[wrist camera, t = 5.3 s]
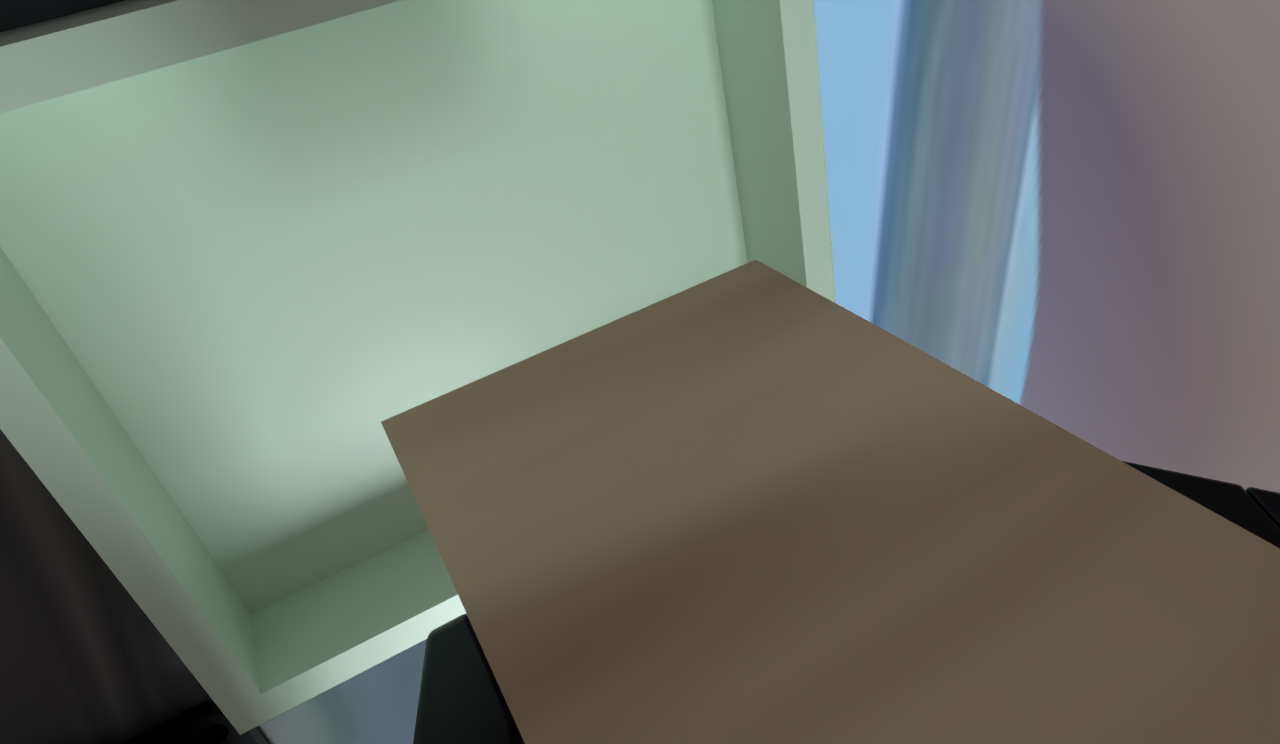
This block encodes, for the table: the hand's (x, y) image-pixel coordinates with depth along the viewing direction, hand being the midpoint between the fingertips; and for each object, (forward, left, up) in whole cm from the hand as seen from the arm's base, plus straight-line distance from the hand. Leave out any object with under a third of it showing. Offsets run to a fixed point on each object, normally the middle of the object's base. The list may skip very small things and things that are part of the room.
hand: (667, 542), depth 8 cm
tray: (0, 0, -8) cm, 8 cm away
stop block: (0, 0, -1) cm, 1 cm away
